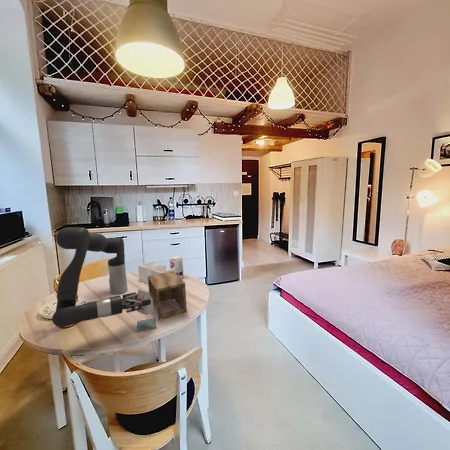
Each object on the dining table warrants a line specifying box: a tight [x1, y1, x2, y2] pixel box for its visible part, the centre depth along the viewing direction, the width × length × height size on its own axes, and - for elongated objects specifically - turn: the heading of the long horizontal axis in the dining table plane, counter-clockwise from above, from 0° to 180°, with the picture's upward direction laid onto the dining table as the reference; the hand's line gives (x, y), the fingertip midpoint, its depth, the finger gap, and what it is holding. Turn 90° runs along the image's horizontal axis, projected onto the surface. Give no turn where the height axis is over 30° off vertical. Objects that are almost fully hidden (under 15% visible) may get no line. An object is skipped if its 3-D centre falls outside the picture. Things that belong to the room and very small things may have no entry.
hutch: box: [147, 271, 188, 321], centre depth 131 cm, size 14×19×16 cm
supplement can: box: [169, 255, 184, 280], centre depth 172 cm, size 8×8×15 cm
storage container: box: [137, 260, 176, 285], centre depth 167 cm, size 25×11×11 cm, turn 51°
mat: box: [136, 317, 158, 333], centre depth 117 cm, size 8×8×1 cm
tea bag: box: [136, 288, 154, 316], centre depth 115 cm, size 4×7×10 cm, turn 56°
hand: (148, 298), depth 116 cm, fingers closed on tea bag, 8 cm apart
